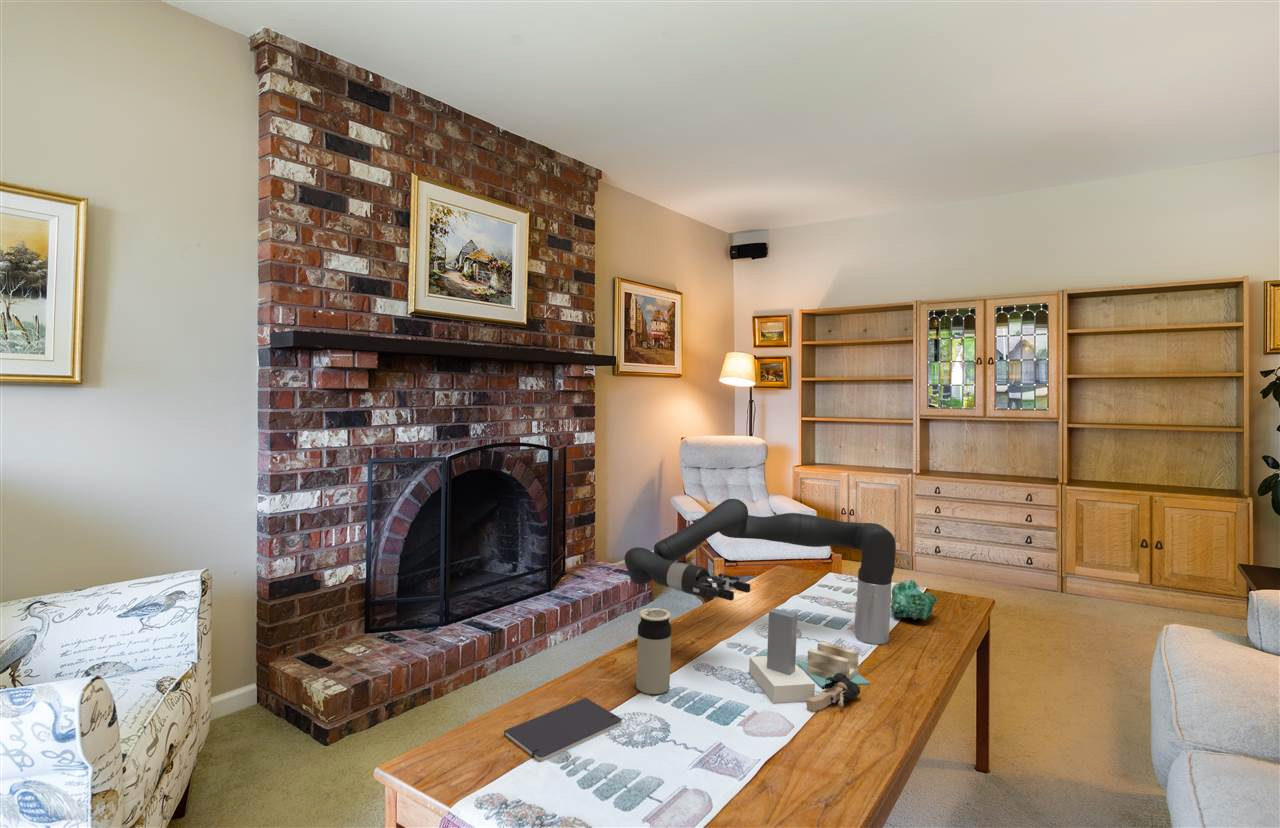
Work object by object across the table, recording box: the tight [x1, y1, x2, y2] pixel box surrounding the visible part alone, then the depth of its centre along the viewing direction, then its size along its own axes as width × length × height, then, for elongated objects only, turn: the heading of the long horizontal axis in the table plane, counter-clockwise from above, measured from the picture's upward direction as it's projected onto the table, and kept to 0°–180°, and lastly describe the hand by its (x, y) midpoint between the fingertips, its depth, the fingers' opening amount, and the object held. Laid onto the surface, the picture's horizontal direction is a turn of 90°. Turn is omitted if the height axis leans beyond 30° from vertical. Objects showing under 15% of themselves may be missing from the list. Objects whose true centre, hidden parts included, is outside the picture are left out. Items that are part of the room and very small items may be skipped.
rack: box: [806, 641, 859, 680], centre depth 164 cm, size 10×9×6 cm
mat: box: [797, 661, 871, 688], centre depth 164 cm, size 13×13×1 cm
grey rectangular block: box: [766, 608, 798, 675], centre depth 156 cm, size 6×3×14 cm, turn 53°
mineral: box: [890, 579, 938, 622], centre depth 208 cm, size 18×16×10 cm
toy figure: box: [805, 673, 861, 713], centre depth 149 cm, size 7×6×15 cm
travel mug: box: [635, 607, 672, 695], centre depth 153 cm, size 8×8×18 cm
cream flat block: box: [748, 655, 816, 704], centre depth 156 cm, size 16×10×4 cm, turn 11°
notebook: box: [503, 697, 623, 762], centre depth 134 cm, size 13×2×21 cm
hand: (741, 592), depth 162 cm, fingers open, 8 cm apart
